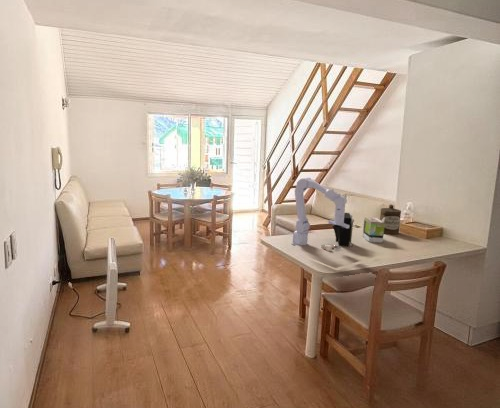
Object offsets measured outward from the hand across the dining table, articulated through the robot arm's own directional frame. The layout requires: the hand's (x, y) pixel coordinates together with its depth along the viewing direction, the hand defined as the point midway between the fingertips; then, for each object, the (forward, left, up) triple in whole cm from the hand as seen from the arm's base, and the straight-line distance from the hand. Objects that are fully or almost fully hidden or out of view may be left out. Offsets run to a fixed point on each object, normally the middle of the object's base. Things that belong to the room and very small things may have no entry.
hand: (337, 237), depth 213 cm
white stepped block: (-3, -4, -9) cm, 10 cm away
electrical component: (-10, +19, -10) cm, 24 cm away
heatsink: (-5, 0, -10) cm, 11 cm away
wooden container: (-13, +78, -10) cm, 80 cm away
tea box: (-7, +48, -10) cm, 50 cm away
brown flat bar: (-5, +1, -9) cm, 10 cm away
